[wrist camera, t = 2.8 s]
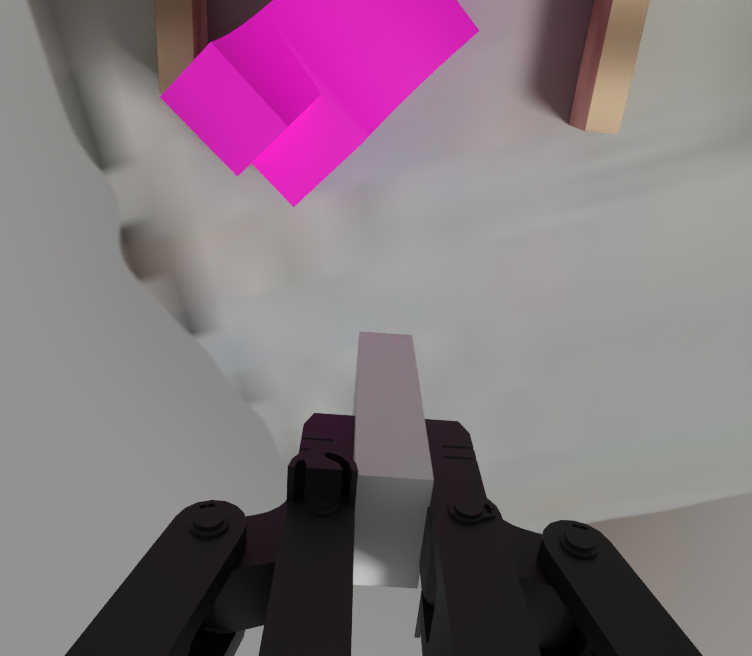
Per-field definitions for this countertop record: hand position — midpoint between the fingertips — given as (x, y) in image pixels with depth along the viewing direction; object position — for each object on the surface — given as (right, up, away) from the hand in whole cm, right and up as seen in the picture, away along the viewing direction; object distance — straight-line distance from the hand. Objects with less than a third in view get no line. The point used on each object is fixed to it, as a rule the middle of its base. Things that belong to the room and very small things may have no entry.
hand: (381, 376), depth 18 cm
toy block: (0, +15, +10) cm, 18 cm away
